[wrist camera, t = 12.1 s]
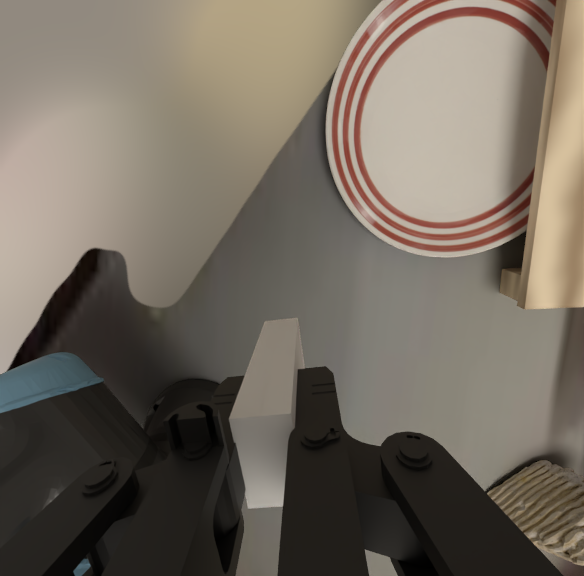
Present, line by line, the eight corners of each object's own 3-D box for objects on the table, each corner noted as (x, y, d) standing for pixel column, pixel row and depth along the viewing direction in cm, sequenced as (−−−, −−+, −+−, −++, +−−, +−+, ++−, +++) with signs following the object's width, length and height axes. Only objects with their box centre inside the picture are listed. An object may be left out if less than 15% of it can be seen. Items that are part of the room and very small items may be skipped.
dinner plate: (542, -88, 28) (571, -126, 25) (610, 187, 34) (641, 185, 31) (282, 72, 33) (279, 58, 30) (379, 289, 39) (386, 296, 35)
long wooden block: (491, 292, 38) (524, 309, 32) (530, -89, 28) (589, -169, 22) (577, 288, 37) (628, 304, 31) (648, -107, 27) (743, -195, 21)
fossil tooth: (468, 487, 47) (561, 439, 42) (495, 512, 48) (589, 468, 43) (505, 575, 36) (635, 524, 31) (539, 606, 37) (672, 561, 32)
